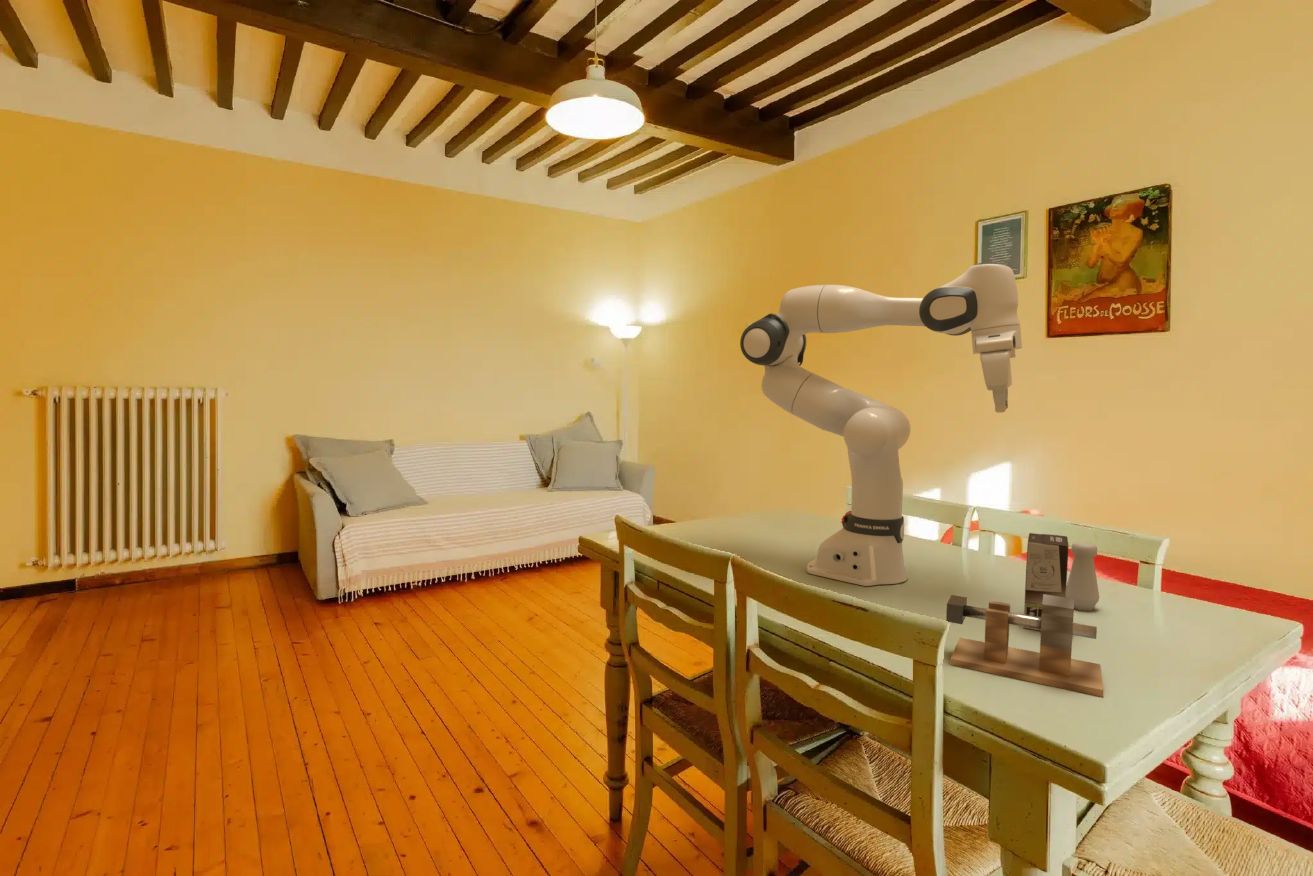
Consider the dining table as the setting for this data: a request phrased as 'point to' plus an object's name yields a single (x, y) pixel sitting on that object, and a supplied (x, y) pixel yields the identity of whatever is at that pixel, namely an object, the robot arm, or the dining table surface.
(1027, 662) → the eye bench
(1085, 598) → the salt shaker
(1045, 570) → the coffee box
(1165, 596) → the dining table surface
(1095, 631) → the grey block-headed metal pin
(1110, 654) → the dining table surface
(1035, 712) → the dining table surface
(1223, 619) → the dining table surface
